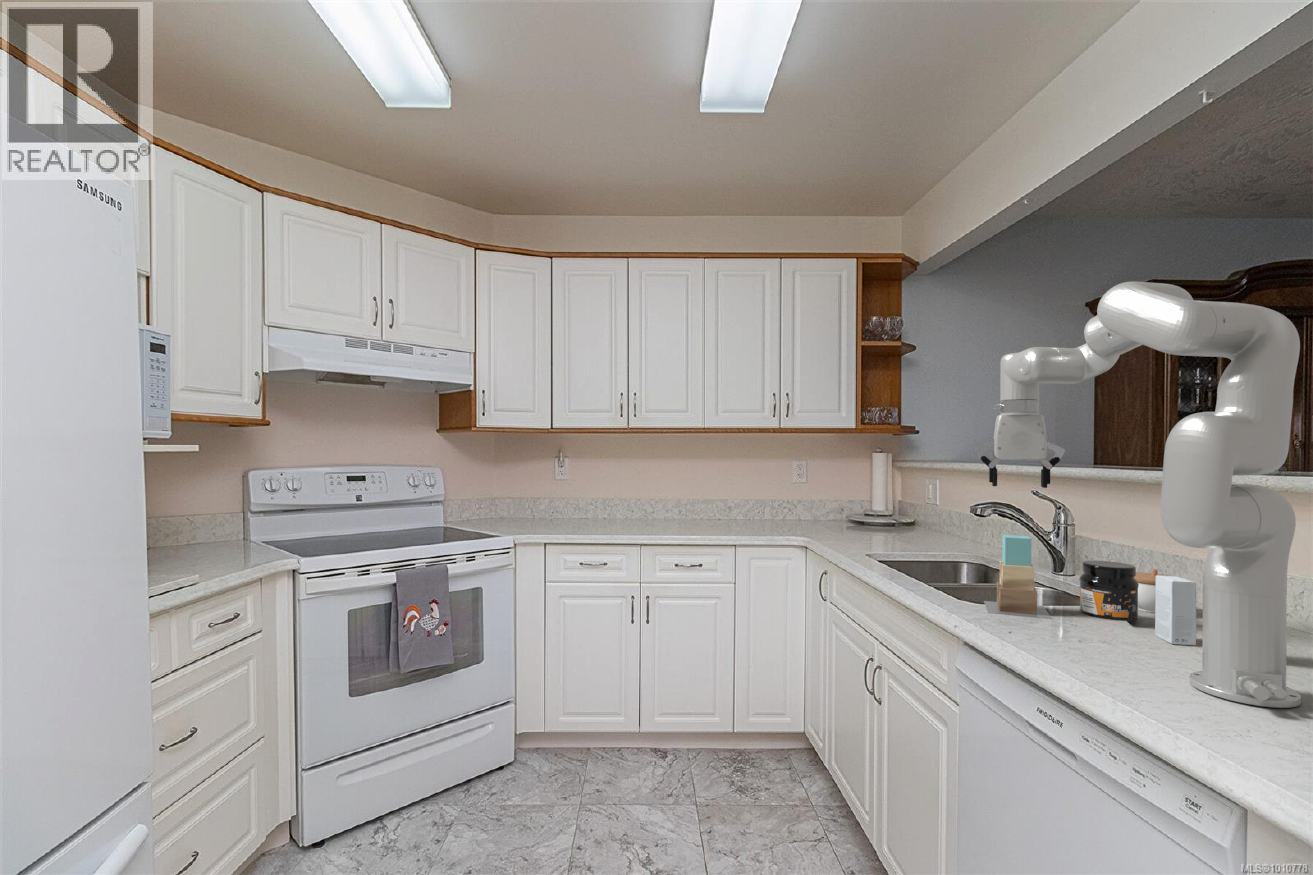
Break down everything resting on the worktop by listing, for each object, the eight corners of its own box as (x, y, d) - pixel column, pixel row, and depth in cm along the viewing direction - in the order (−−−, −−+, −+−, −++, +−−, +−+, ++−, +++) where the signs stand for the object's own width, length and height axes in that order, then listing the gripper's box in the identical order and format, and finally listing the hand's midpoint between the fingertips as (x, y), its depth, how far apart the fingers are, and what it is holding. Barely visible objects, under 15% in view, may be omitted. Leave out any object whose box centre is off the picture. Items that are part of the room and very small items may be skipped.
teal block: (1031, 566, 141) (1031, 538, 142) (1005, 565, 143) (1005, 537, 143) (1027, 563, 146) (1027, 536, 146) (1002, 561, 148) (1002, 534, 148)
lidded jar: (1128, 602, 158) (1128, 563, 158) (1185, 610, 151) (1185, 569, 151) (1123, 611, 149) (1123, 569, 150) (1183, 619, 142) (1183, 576, 143)
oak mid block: (1034, 590, 141) (1034, 567, 141) (1002, 588, 143) (1002, 565, 143) (1029, 585, 146) (1029, 562, 146) (999, 582, 149) (999, 560, 149)
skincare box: (1197, 646, 123) (1197, 582, 123) (1171, 644, 124) (1171, 581, 124) (1178, 637, 129) (1178, 576, 129) (1153, 635, 130) (1154, 574, 130)
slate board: (1052, 624, 137) (1052, 619, 137) (988, 618, 141) (988, 612, 141) (1042, 611, 148) (1042, 606, 148) (983, 605, 152) (983, 600, 152)
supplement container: (1077, 620, 140) (1077, 564, 141) (1081, 611, 149) (1081, 558, 149) (1138, 629, 134) (1138, 570, 134) (1138, 618, 143) (1138, 563, 143)
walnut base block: (1036, 614, 140) (1037, 591, 140) (1000, 611, 143) (1000, 588, 143) (1031, 607, 147) (1032, 585, 147) (996, 604, 149) (996, 582, 149)
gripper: (977, 408, 145) (976, 486, 144) (1068, 407, 138) (1068, 489, 138) (974, 410, 152) (974, 484, 151) (1061, 409, 145) (1061, 487, 145)
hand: (1019, 486), depth 145 cm, fingers open, 9 cm apart
